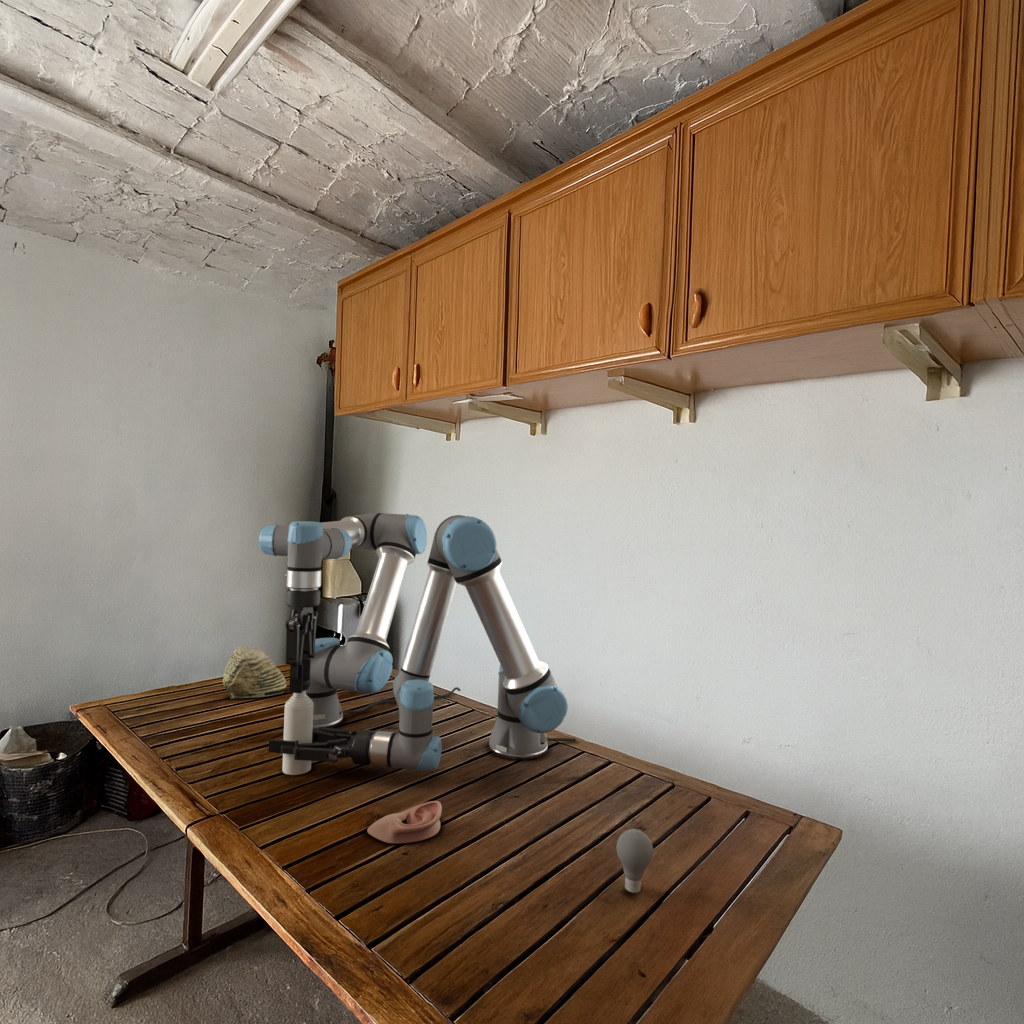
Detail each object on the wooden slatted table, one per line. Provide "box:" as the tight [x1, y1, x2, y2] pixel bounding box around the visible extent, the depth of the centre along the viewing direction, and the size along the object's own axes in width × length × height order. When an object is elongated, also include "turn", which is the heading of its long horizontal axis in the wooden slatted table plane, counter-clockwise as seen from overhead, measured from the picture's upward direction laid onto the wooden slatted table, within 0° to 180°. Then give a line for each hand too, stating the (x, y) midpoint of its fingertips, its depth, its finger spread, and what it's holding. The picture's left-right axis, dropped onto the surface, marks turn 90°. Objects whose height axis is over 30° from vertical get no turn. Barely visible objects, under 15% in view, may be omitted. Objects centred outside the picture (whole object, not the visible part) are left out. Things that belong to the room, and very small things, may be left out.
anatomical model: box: [366, 800, 443, 845], centre depth 122 cm, size 13×4×12 cm
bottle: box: [281, 691, 314, 776], centre depth 146 cm, size 6×6×20 cm
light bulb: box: [615, 828, 654, 894], centre depth 106 cm, size 6×6×10 cm
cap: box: [302, 678, 309, 691], centre depth 146 cm, size 4×4×2 cm
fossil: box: [222, 646, 288, 699], centre depth 198 cm, size 9×18×15 cm, turn 132°
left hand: (299, 689), depth 146 cm, fingers closed on cap, 4 cm apart
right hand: (276, 739), depth 147 cm, fingers closed on bottle, 6 cm apart
